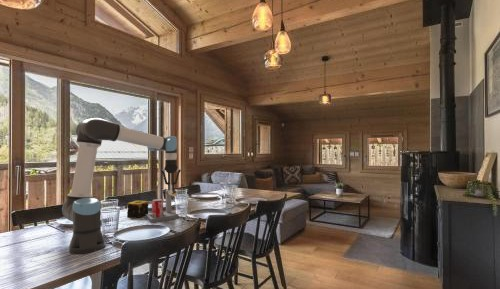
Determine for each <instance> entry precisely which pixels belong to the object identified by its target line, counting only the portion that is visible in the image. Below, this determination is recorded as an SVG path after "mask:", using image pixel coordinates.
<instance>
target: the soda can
mask: <svg viewBox="0 0 500 289" xmlns="http://www.w3.org/2000/svg"><path fill="white" fill-rule="evenodd" d="M163 212H164V201H163V199H162V198H155V199H152V201H151V214H152V218H156V217H162V216H163Z"/></svg>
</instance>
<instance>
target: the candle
mask: <svg viewBox="0 0 500 289" xmlns="http://www.w3.org/2000/svg"><path fill="white" fill-rule="evenodd" d="M126 205H127V212H126V214H127V215H126V218H127V219H129V218H130V219H141V218H144V217H145V214H149V201H148V200H134V201H131V202H127V204H126Z"/></svg>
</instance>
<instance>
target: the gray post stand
mask: <svg viewBox="0 0 500 289" xmlns="http://www.w3.org/2000/svg"><path fill="white" fill-rule="evenodd" d="M144 217H145V219H146V220H147V221H149V223H158V222H164V221H169V220H175V219H179V214H178V213H176V212H175V211H173V210H172V195H169V194H166V193H165V211H163V216H162V217H156V218H152V213H148V214H145V216H144Z"/></svg>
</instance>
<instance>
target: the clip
mask: <svg viewBox="0 0 500 289" xmlns="http://www.w3.org/2000/svg"><path fill="white" fill-rule="evenodd" d="M166 194H169V195H170V190H168V189H165V195H166ZM177 196H178V193H177V190H172V195H171V197H177Z"/></svg>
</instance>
